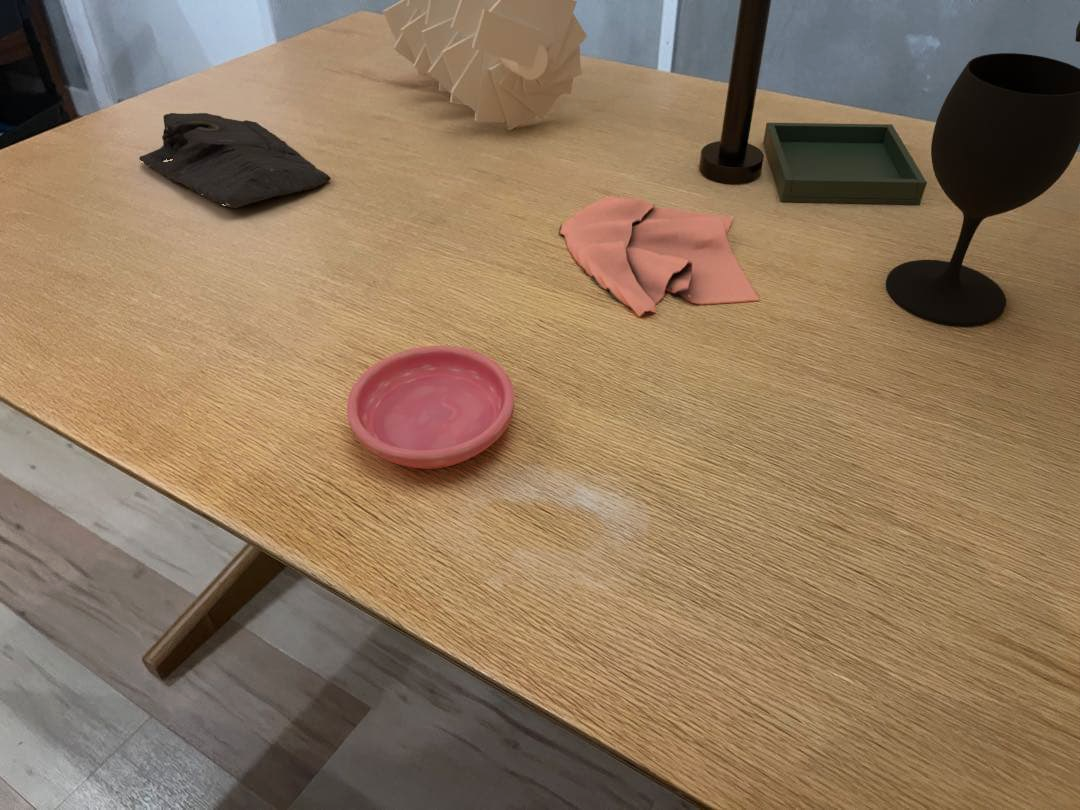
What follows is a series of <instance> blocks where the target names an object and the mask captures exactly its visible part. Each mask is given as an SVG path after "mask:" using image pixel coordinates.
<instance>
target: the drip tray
mask: <svg viewBox="0 0 1080 810" xmlns="http://www.w3.org/2000/svg"><path fill="white" fill-rule="evenodd" d="M764 129H765V130H764V134H763V141H762V144H763V147H764V151H765V154H766V158H767V160H768V161H767V162H768V164H769V167H770V171H771V175H772V177H773V179H774V184H775V187H776V189H777V193H778V196H779V200H780V202H781V203H815V204H816V203H823V204H868V205H912V206H913V205H915V206H917V205H921V202H922V199H923V196H924V193H925V190H926V186H927V184H928V183H927V180H926V179H925V177H924V175H923V174H922V172H921V170H920V168H919V167H918V165H917V164H916V161H915V160H914V158H913V157H912V155H911V153H910V152H909V150H908V148H907V147H906V145H905V143H904V141H903V140H902V139H901V137H900V135H899V134H898V131H897V130H896V129H895V127H894V125H893V124H892V123H891V124H889V123H888V124H887V123H886V124H883V123H879V124H878V123H874V124H873V123H824V122H823V123H822V122H819V123H818V122H813V123H812V122H766V124H765V128H764Z"/></svg>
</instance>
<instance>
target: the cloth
mask: <svg viewBox="0 0 1080 810" xmlns="http://www.w3.org/2000/svg"><path fill="white" fill-rule="evenodd" d="M733 221H734V217H729V216H723V215H716V214H710V213H703V212H697V211H689V210H684V209H676V208H670V207H661V206H656V205H655V204H654V203H651V202H649V201H646V200H643V199H637V198H634V197H627V198H624V197H620V195H607V196H605V197H602V198H600V199H599V200H597V201H594V202H591V203H590V204H588V205H587V206H586V207H584V208H581V209H580V210H578V211H576V212H575V213H574V214H573V215H572V216H571V217H570V218H568V219H567V220H565V221H564V222H563V223H562V224H560V226H559V230H558V234H560V235H562V236H564V239H565V244H566V246H567V249H568V251H569V253H570V255H571V256H572V257H573V258H574V261H575V262H576V263H577V264H578V266H579V267H581V268H583V270H584V272H585V273H586V274H587V275H588V276H589V277H591V279H593V280H595V282H596V283H597V285H598V286H599V287H600V288H602V289H603V290H605V291H606V292H608V293H611V294H612V295H613V296H614V298H615V299H616V300H618V301H619V302H620V303H621V304H623V305H625V306H627V307H629V308H631V309H632V310H633V311H634V313H635V314H636V315H637V317H639V318H640V317H641V316H643V315H645V314H646V313H647V312H652V313H653V314H656V313H657V308H656V305H657V304H659V303H660V302H661V300H662V299H663V298H664V297H665V293H666V291H667V292H669V293H670V294H673V295H677V296H679V297H681V298H682V299H684V300H685V301H688V302H690V303H692V304H696V305H720V304H721V305H722V304H731V303H732V304H733V303H734V304H735V303H736V304H737V303H747V302H760V298H759V296H758V295H757V293H756V291H755V289H754V287H753V286H752V284H751V282H750V281H749V279H748V277H747V275H746V274H745V272H744V271H743V269H742V267H741V266H740V264H739V263H738V261H737V259H736V257H735V255H734V254H733V253H732V250H731V248H730V244H729V241H728V238H727V235H728V233H729V230H730V228H731V226H732V224H733Z"/></svg>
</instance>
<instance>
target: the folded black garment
mask: <svg viewBox="0 0 1080 810" xmlns="http://www.w3.org/2000/svg"><path fill="white" fill-rule="evenodd" d="M163 125H164V128H163V133H162V136H161V139H162V142H163V144H162V146H161V147H160V148H157V149H156V150H153V151H151V152H148V153H146V154H144V155H141V156H139V158H138V159H139V161H140V160H141V161H143V162H144V163H145V164H146V165H145V164H144V163H143V162H142V163H143V164H144V165H145V166H148V165H150V166H149V167H150V168H151V169H153V170H155V172H157V171H158V172H157V173H159V174H160V175H161V174H162V175H161V176H163V177H165V176H167V177H166V178H167V179H168V180H170V179H172V180H171V181H173V182H174V183H175V182H177V183H176V184H178V183H182V184H181V185H183V186H186V188H188V189H189V190H192V191H195V192H196V193H197V194H198V193H200V194H203V195H204V197H205V198H208V199H210V200H211V201H213V202H215V201H216V202H215V203H218V202H219V203H218V204H220V205H221V204H224V205H226V207H229V208H232V209H238V208H241V207H244V206H246V205H250V204H249V203H251V204H252V203H253V204H255V203H257V202H261V201H265V200H268V199H271V198H274V196H275V197H282V196H286V195H291V194H294V193H298V192H304V191H308V190H311V188H312V189H315V188H317V187H319V186H321V185H323V184H325V183H326V182H328V181H330V180H331V179H332V178H331V176H329V175H328V174H326V172H324V171H323V170H321V169H319V168H318V167H316V166H315V164H313V163H312V162H310V161H309V160H307V159H306V158H305V157H303V156H302V155H301V154H300V153H299V151H297V150H295V149H294V148H293V147H291V146H290V145H288V143H287V142H286V141H285V140H282V139H280V138H279V137H278V135H276V134H274V133H273V132H271V131H270V130H268V129H267V128H266V127H263V126H262V125H260V124H259V123H258V122H256V121H253V120H252V121H251V120H248V119H247V120H245V119H244V120H237V119H232V118H227V117H226V118H225V117H223V116H221V115H218V114H211V113H207V112H199V113H197V112H194V113H176V112H170V113H165V114H164V115H163ZM166 159H167V160H170V159H173V160H172V161H168V162H163V161H164V160H166ZM307 189H308V190H307ZM303 190H304V191H303ZM200 194H199V195H200ZM254 202H255V203H254Z"/></svg>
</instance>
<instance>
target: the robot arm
mask: <svg viewBox="0 0 1080 810" xmlns="http://www.w3.org/2000/svg"><path fill="white" fill-rule="evenodd" d="M1075 42H1076V43H1080V20H1079V21H1078V24H1077V26H1076V28H1075Z"/></svg>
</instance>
